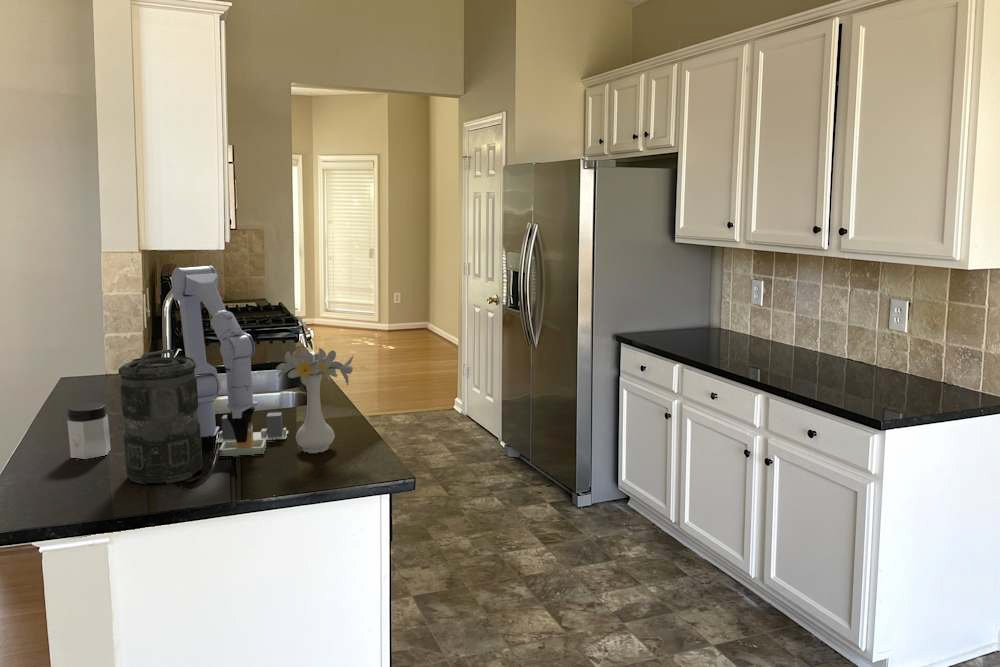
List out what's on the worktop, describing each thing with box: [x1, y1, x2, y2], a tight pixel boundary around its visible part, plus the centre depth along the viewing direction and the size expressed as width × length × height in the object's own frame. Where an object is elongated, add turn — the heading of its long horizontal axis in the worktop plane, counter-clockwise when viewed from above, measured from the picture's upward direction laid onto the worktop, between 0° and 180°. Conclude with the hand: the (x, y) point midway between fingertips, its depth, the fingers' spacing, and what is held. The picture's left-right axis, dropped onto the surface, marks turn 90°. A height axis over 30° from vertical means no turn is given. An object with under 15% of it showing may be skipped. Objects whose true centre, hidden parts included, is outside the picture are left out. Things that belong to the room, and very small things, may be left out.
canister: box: [117, 349, 203, 486], centre depth 181 cm, size 16×16×28 cm
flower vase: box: [275, 347, 354, 454], centre depth 199 cm, size 13×18×25 cm
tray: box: [218, 439, 268, 457], centre depth 199 cm, size 10×7×2 cm
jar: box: [66, 402, 112, 459], centre depth 196 cm, size 9×8×12 cm
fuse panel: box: [216, 411, 289, 444], centre depth 209 cm, size 17×7×6 cm, turn 100°
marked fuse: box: [236, 422, 254, 448], centre depth 198 cm, size 4×4×6 cm
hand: (242, 439), depth 198 cm, fingers closed on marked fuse, 3 cm apart
